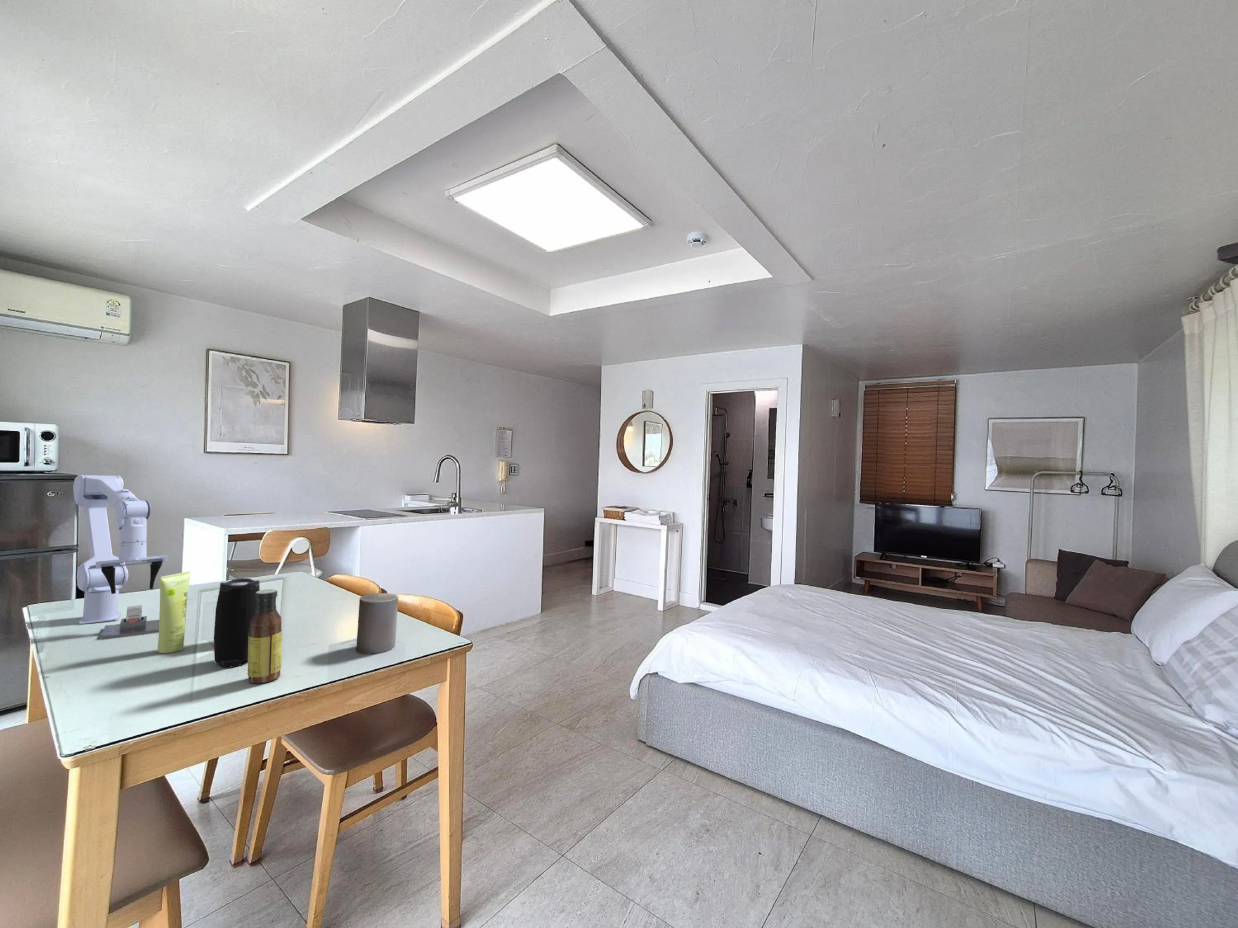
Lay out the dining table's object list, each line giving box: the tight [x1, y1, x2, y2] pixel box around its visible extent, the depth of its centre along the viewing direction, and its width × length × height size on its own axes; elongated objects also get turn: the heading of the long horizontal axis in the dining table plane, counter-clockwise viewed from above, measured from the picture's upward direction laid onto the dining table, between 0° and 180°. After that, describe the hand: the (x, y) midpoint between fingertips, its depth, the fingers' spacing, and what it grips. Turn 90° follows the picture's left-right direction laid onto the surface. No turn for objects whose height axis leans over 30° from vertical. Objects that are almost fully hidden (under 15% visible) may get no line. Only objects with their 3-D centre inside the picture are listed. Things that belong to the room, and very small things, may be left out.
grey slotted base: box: [100, 615, 159, 640], centre depth 142 cm, size 12×12×4 cm
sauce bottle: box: [247, 588, 283, 685], centre depth 113 cm, size 6×6×20 cm
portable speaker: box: [213, 577, 261, 668], centre depth 123 cm, size 9×9×20 cm
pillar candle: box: [355, 591, 399, 655], centre depth 136 cm, size 10×10×15 cm
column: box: [125, 605, 143, 622], centre depth 142 cm, size 3×3×6 cm
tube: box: [157, 570, 191, 654], centre depth 128 cm, size 6×5×20 cm
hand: (132, 591), depth 142 cm, fingers open, 7 cm apart
